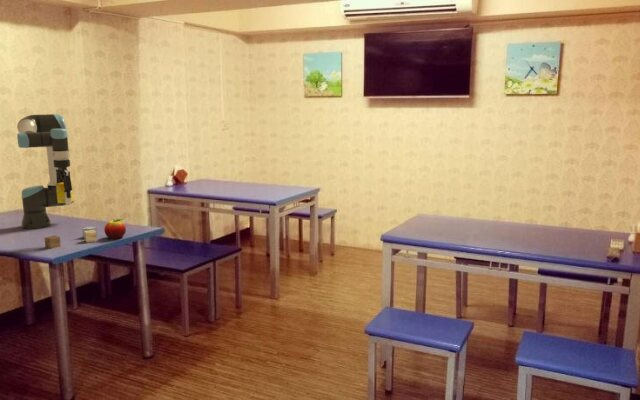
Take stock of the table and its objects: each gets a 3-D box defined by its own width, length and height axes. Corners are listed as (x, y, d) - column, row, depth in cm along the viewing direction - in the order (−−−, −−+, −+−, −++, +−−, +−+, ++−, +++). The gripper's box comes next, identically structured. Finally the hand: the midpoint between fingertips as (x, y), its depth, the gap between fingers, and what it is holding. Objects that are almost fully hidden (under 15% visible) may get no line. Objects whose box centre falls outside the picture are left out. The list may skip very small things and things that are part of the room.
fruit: (102, 237, 281) (100, 219, 279) (123, 234, 287) (121, 216, 285) (108, 241, 272) (106, 222, 271) (129, 237, 279) (127, 219, 277)
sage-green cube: (83, 237, 281) (82, 228, 280) (89, 235, 285) (88, 226, 284) (90, 238, 279) (90, 229, 278) (97, 236, 284) (96, 227, 283)
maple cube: (84, 240, 274) (84, 231, 274) (95, 239, 277) (94, 230, 276) (86, 242, 270) (85, 233, 269) (97, 241, 273) (96, 231, 272)
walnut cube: (45, 247, 262) (44, 237, 261) (54, 245, 266) (53, 235, 265) (51, 248, 260) (50, 238, 259) (60, 246, 264) (59, 236, 263)
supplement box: (62, 202, 273) (60, 181, 271) (74, 202, 274) (72, 181, 272) (57, 204, 267) (55, 183, 265) (69, 204, 268) (67, 183, 266)
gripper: (47, 158, 271) (51, 201, 275) (60, 161, 256) (65, 206, 260) (62, 157, 276) (66, 199, 280) (76, 160, 261) (80, 204, 265)
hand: (65, 202), depth 270 cm, fingers closed on supplement box, 8 cm apart
